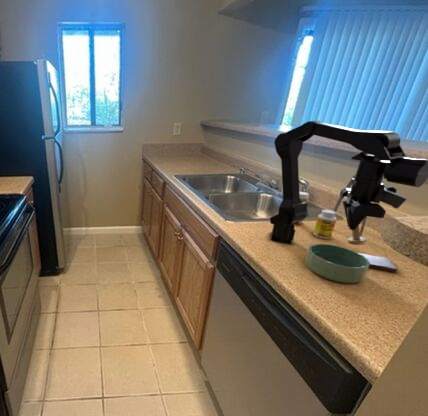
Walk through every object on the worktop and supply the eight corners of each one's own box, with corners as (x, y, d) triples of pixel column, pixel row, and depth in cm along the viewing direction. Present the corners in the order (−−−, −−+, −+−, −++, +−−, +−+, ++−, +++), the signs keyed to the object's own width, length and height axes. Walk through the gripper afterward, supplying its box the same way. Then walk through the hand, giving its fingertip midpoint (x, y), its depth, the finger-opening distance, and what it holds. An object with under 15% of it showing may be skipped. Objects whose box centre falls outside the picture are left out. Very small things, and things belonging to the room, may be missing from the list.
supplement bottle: (315, 238, 104) (323, 213, 100) (310, 232, 109) (317, 208, 105) (333, 240, 102) (341, 214, 99) (327, 233, 107) (334, 209, 104)
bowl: (307, 276, 82) (312, 260, 80) (302, 254, 93) (306, 240, 91) (370, 290, 75) (377, 273, 73) (356, 265, 87) (361, 250, 85)
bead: (326, 259, 85) (319, 260, 86) (324, 262, 87) (317, 264, 87) (321, 254, 87) (315, 255, 87) (320, 258, 88) (313, 259, 88)
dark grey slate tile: (357, 264, 87) (358, 261, 87) (351, 254, 93) (352, 251, 92) (395, 272, 83) (397, 269, 82) (387, 261, 89) (388, 258, 88)
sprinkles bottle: (302, 223, 117) (311, 193, 112) (297, 225, 115) (306, 195, 110) (291, 219, 121) (298, 190, 116) (286, 222, 118) (293, 192, 113)
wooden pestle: (349, 245, 82) (345, 209, 80) (346, 240, 85) (343, 205, 83) (367, 244, 80) (364, 207, 78) (364, 239, 83) (360, 204, 81)
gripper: (424, 190, 65) (400, 248, 71) (395, 173, 80) (377, 222, 86) (363, 184, 70) (345, 238, 76) (346, 170, 86) (332, 216, 91)
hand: (351, 228), depth 82 cm, fingers closed on wooden pestle, 2 cm apart
